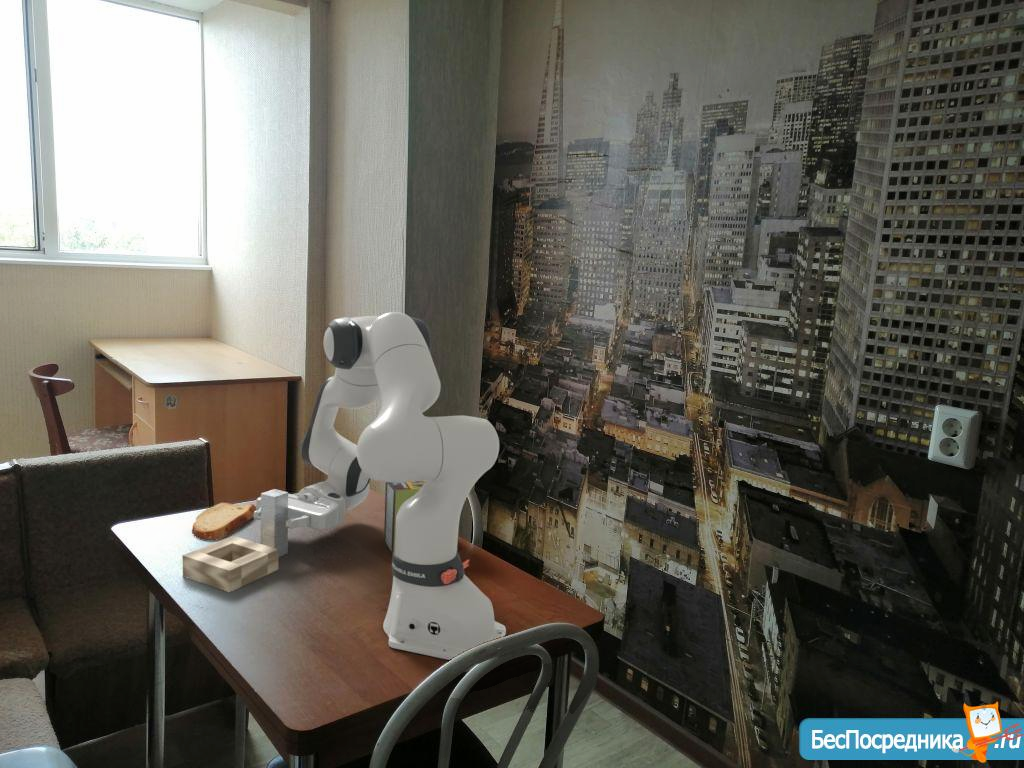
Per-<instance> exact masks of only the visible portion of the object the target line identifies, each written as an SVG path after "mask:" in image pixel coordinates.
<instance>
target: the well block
mask: <svg viewBox="0 0 1024 768" xmlns="http://www.w3.org/2000/svg"><path fill="white" fill-rule="evenodd" d="M278 570H279V557H278V549H276V548H272V547H269V546H266V545H262V544H261V543H258V542H256V541H251V540H249V539H246V538H243V537H242V538H241V537H239V536H235V535H231V536H229V537H227V538H222V539H220V540H217V541H216V542H213V543H211V544H208V545H205V546H203V547H201V548H198V549H196V550H193V551H190V552H188V553H185V554H182V577H183V576H185V577H184V578H186V577H188V578H187V579H189V578H191V579H190V580H192V579H194V580H193V581H195V580H196V581H195V582H197V581H199V582H198V583H200V582H202V583H201V584H203V583H205V584H204V585H206V584H207V586H209V585H210V586H209V587H212V586H213V587H212V588H215V589H217V590H222V591H223V590H224V592H227V593H229V592H230V593H232V592H234V591H236V590H238V589H240V588H242V587H244V586H247V585H249V584H251V583H253V582H255V581H257V580H259V579H261V578H263V577H266V576H268V575H270V574H272V573H275V572H276V571H278ZM231 591H232V592H231Z"/></svg>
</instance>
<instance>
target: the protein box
mask: <svg viewBox="0 0 1024 768" xmlns="http://www.w3.org/2000/svg"><path fill="white" fill-rule="evenodd" d="M425 481H426V480H423V481H413V482H403V483H390V482H385V493H384V495H385V497H384V499H385V501H384V527H383V528H384V529H383V530H384V531H383V541H384V542H385V544H386V546H387V547H388V549H389V551H390V552H391V555H393V551H394V550H395V537H396V516H397V513H398V510H399V508H400V507H401V505H402V504H403V503H404V502H405V501H406V500H408V499H409V498H411V497H412V496H414V495H415V494H416V493H417V492H418V491H419V490H420V489H421V488H422V486H423V485H424V483H425ZM458 531H459V528H458ZM458 546H459V537H458V538H457V550H458V548H459V547H458Z"/></svg>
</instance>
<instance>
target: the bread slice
mask: <svg viewBox="0 0 1024 768" xmlns="http://www.w3.org/2000/svg"><path fill="white" fill-rule="evenodd" d="M230 505H231V506H230ZM254 511H256V504H254V503H250V504H247V505H238V504H233V503H230V502H220V503H217V504H215V505H213V506H211V507H208V508H206V509H205V510H204V511H202V512H201V513H200V514H197V516H196V517H195V522H193V524H192V529H191V533H192V535H193V534H194V535H193V536H194V537H195V536H196V537H198V538H200V539H199V540H201V539H204V540H203V541H206V540H213V541H217V540H216V539H218V540H221V539H223V538H225V537H227V536H229V535H231V534H233V533H234V532H235V531H237V530H239V527H240V528H242V527H243V526H244V525H245V524H246V523H248V522H249V521H250V520H251V519H252V518H254V517H253V513H254ZM236 529H237V530H236ZM233 531H234V532H233ZM230 533H231V534H230ZM228 534H229V535H228ZM226 535H227V536H226ZM224 536H225V537H224ZM196 537H195V538H196ZM222 537H223V538H222ZM198 538H197V539H198ZM220 538H221V539H220Z"/></svg>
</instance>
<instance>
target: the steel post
mask: <svg viewBox="0 0 1024 768" xmlns="http://www.w3.org/2000/svg"><path fill="white" fill-rule="evenodd" d="M288 494H289V492H288V491H284V490H281V489H276V488H272V489H271V490H268V491H264V492H261V493H260V497H261V520H260V544H262V545H266V546H269V547H272V548H276V549H278V558H280V557H282V556H285V555H287V554H288V553H289V552H288V549H289V545H288V543H289V541H288V539H289V528H286V521H287V520H288ZM284 554H285V555H284Z"/></svg>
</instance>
